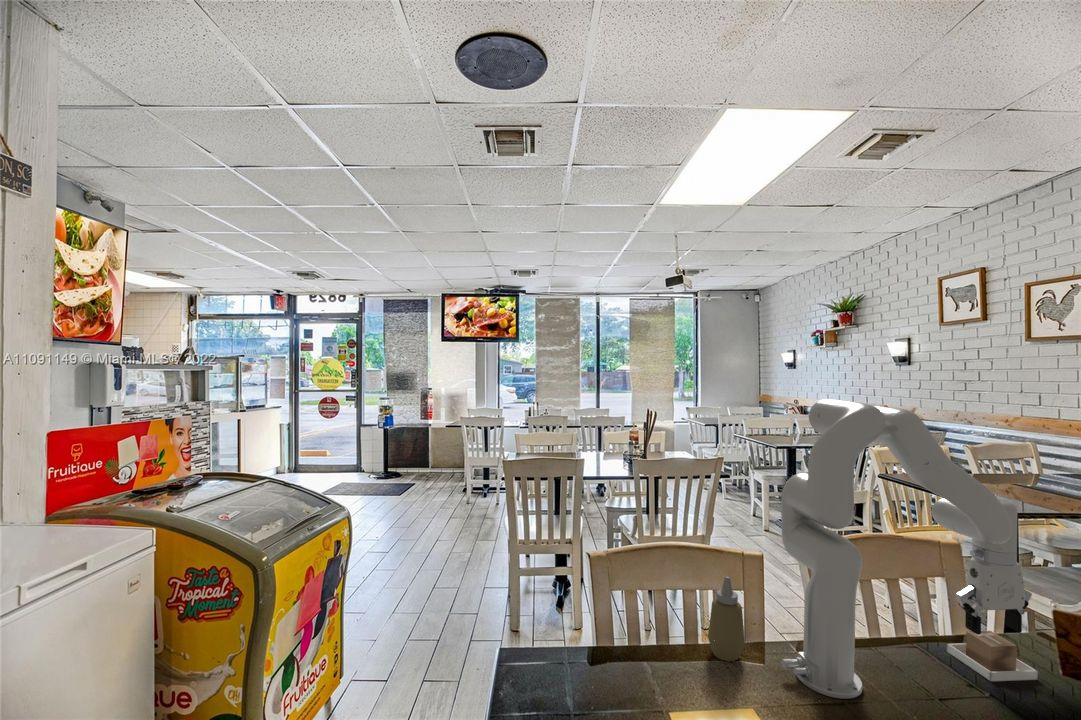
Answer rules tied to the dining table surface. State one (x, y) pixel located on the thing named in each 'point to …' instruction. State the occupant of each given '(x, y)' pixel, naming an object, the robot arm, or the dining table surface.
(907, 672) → the dining table surface
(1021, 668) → the tray
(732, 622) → the squeeze bottle
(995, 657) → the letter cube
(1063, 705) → the dining table surface
